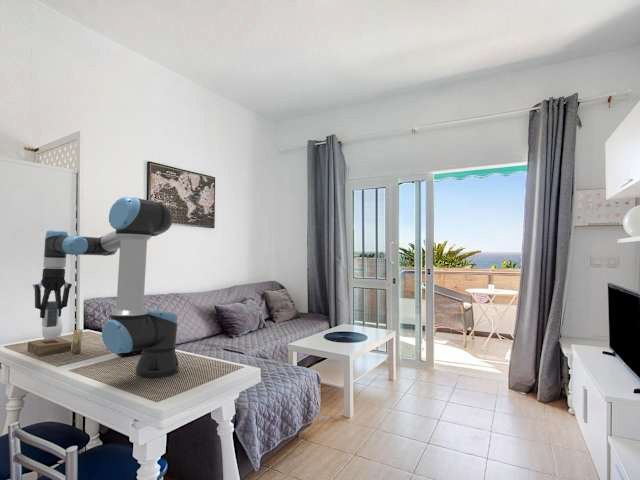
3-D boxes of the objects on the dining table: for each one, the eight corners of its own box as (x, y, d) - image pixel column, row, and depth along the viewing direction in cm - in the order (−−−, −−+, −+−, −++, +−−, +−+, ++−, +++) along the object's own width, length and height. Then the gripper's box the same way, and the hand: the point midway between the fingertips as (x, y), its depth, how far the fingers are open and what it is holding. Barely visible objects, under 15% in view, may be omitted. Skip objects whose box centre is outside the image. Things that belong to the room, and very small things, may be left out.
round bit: (81, 353, 163) (83, 330, 163) (73, 355, 160) (75, 331, 160) (78, 352, 164) (80, 329, 165) (70, 353, 162) (72, 330, 162)
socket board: (70, 351, 165) (71, 342, 165) (38, 356, 155) (39, 346, 155) (58, 346, 172) (59, 337, 172) (27, 351, 162) (28, 341, 162)
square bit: (56, 326, 154) (57, 301, 155) (47, 327, 151) (48, 302, 152) (52, 325, 156) (54, 301, 156) (43, 326, 153) (45, 301, 154)
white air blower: (40, 341, 179) (43, 303, 180) (59, 339, 184) (62, 302, 185) (42, 344, 173) (45, 305, 174) (62, 342, 179) (65, 304, 179)
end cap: (121, 358, 160) (122, 342, 160) (114, 354, 164) (116, 339, 164) (145, 354, 167) (146, 339, 167) (138, 351, 172) (139, 336, 172)
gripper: (72, 267, 164) (67, 322, 162) (26, 267, 150) (22, 326, 149) (80, 268, 159) (75, 324, 158) (34, 268, 146) (29, 329, 145)
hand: (49, 325), depth 154 cm, fingers closed on square bit, 3 cm apart
